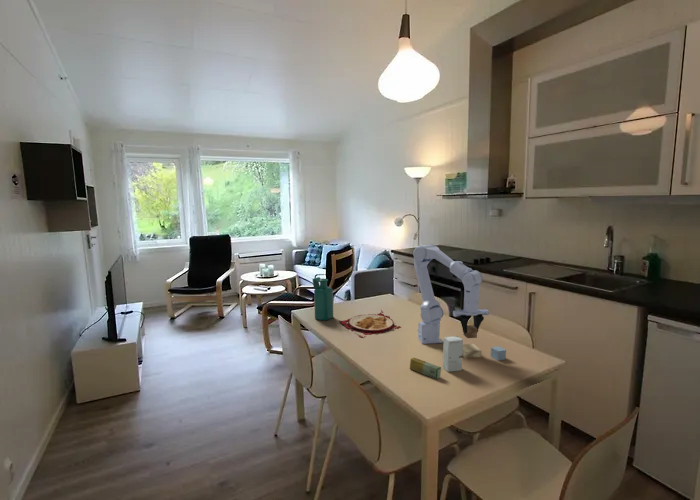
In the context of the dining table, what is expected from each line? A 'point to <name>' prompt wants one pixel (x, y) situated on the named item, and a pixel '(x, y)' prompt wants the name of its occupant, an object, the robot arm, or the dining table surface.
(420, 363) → the medication box
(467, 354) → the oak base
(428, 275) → the robot arm
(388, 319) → the plate with food
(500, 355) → the slate block
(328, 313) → the green tall canister
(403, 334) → the dining table surface
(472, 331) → the walnut block
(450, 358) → the skincare box
